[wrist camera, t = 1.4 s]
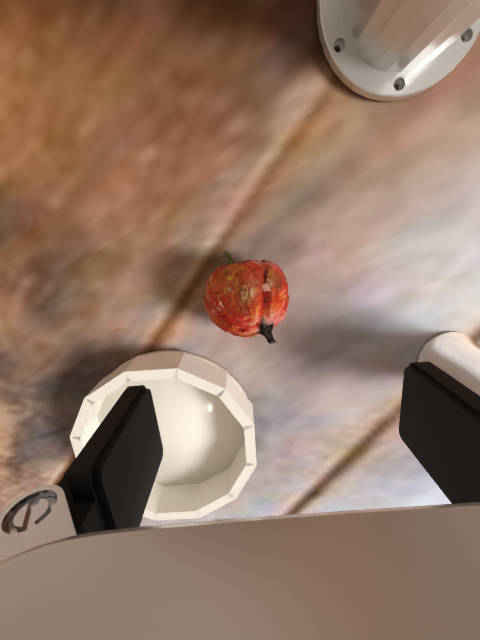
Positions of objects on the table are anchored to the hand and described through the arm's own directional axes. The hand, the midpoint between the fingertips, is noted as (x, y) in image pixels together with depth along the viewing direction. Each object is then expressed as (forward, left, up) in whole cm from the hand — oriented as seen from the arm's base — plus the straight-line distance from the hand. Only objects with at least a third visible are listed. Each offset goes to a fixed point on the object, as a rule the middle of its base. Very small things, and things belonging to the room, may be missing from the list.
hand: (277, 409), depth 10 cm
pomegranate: (-1, -1, -19) cm, 19 cm away
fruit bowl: (+14, -10, -19) cm, 25 cm away
